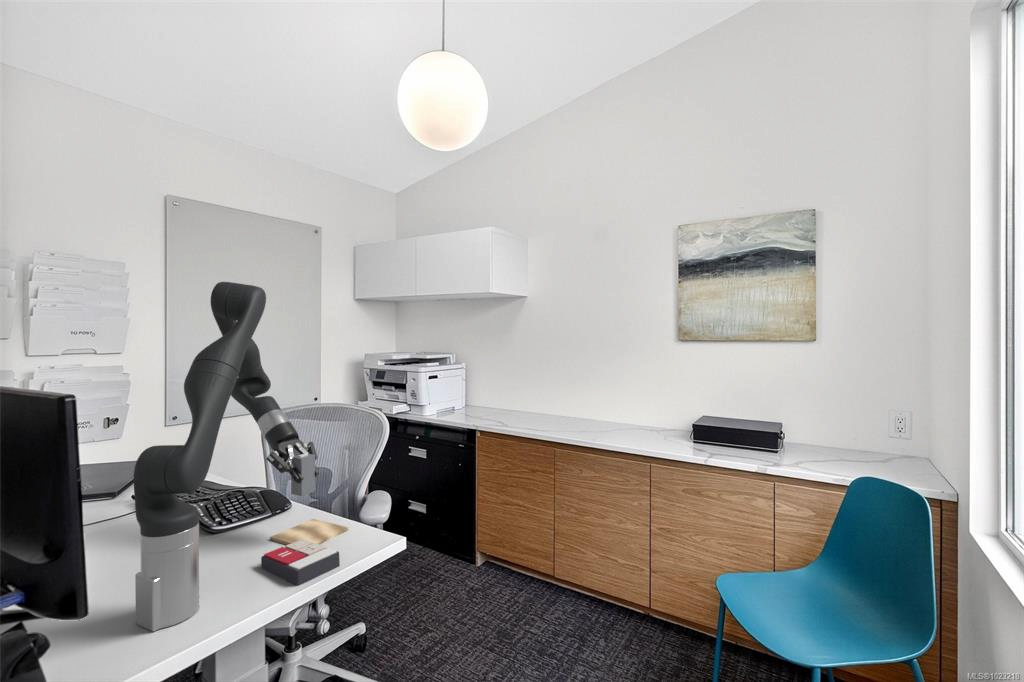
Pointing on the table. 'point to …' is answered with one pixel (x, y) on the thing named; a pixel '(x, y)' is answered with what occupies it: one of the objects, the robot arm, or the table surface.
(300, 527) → the cork coaster
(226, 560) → the table surface
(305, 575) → the red-tabbed grey slab
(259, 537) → the table surface
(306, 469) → the block
